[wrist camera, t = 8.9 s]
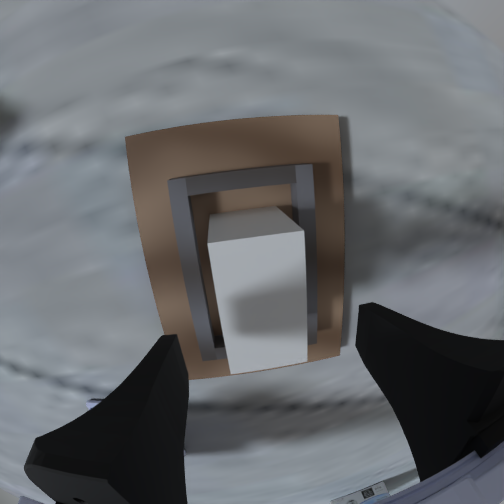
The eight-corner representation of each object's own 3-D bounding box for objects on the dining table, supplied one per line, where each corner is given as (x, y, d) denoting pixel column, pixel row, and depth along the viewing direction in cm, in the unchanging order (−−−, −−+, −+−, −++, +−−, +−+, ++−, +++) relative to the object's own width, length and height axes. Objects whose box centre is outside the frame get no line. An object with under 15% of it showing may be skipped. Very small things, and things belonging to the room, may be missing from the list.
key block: (275, 205, 18) (304, 230, 12) (283, 307, 20) (307, 361, 15) (209, 214, 18) (207, 243, 12) (225, 315, 20) (230, 374, 14)
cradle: (335, 348, 23) (346, 366, 21) (180, 372, 22) (177, 393, 20) (332, 116, 17) (348, 112, 15) (129, 137, 16) (117, 135, 14)
